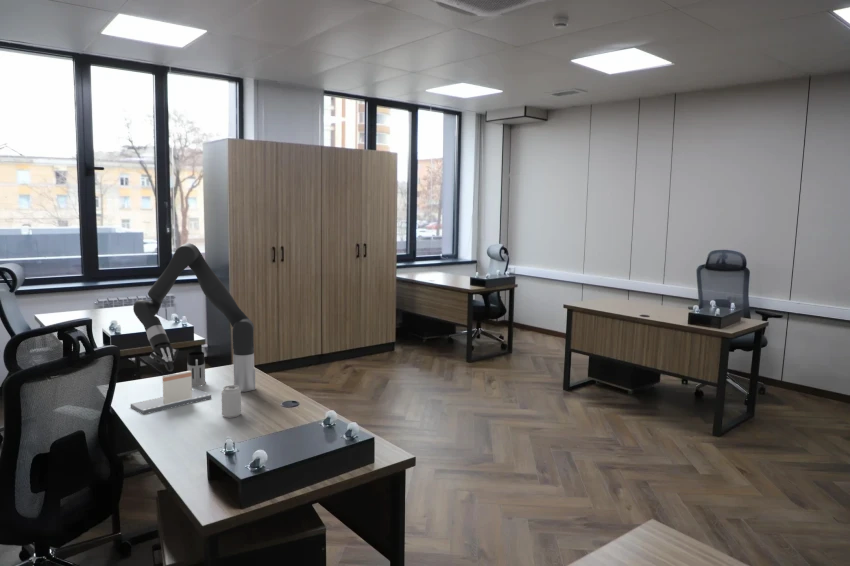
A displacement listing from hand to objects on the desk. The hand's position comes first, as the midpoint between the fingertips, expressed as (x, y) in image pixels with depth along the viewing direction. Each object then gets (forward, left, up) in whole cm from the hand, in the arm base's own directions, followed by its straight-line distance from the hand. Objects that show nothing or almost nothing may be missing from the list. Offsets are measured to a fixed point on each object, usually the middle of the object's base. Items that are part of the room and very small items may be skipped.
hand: (171, 370), depth 257 cm
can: (-20, +27, -15) cm, 36 cm away
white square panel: (-2, +6, -13) cm, 14 cm away
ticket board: (0, 0, -14) cm, 14 cm away
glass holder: (-13, -22, -15) cm, 30 cm away
